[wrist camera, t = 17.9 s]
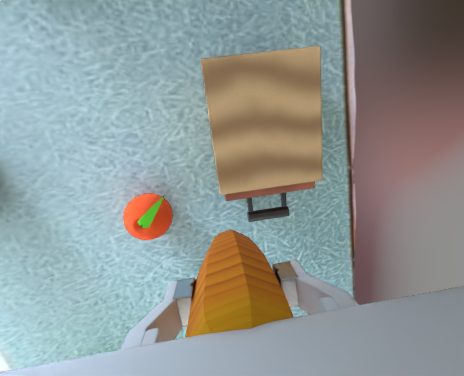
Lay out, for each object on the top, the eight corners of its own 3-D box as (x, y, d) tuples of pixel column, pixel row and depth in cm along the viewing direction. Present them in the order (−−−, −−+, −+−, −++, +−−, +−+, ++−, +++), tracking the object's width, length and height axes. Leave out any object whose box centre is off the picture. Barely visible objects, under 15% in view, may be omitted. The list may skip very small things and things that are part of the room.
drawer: (295, 202, 37) (315, 219, 30) (226, 213, 36) (230, 233, 29) (289, 85, 32) (312, 72, 25) (209, 94, 31) (209, 83, 24)
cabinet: (295, 168, 36) (322, 180, 27) (217, 179, 35) (220, 195, 27) (290, 69, 32) (320, 45, 24) (203, 79, 32) (200, 58, 23)
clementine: (151, 174, 34) (136, 185, 27) (188, 199, 36) (182, 214, 29) (124, 213, 35) (103, 232, 29) (161, 235, 37) (149, 258, 30)
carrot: (258, 207, 19) (422, 470, 4) (254, 259, 20) (370, 608, 5) (199, 206, 18) (146, 500, 4) (199, 259, 19) (156, 644, 5)
